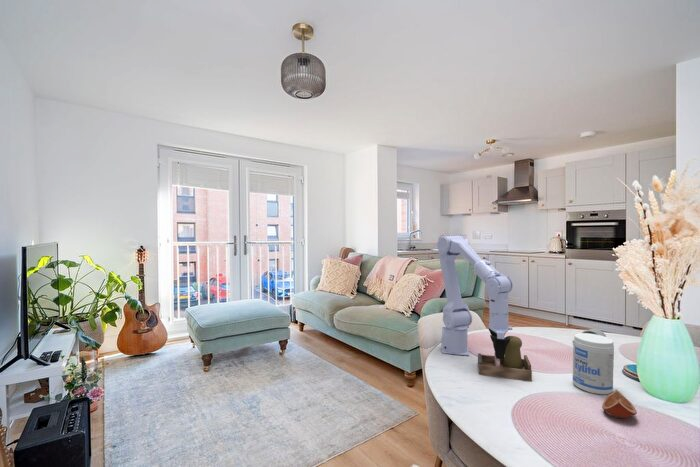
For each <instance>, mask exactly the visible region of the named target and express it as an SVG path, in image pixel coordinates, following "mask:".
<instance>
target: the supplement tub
mask: <svg viewBox="0 0 700 467" xmlns="http://www.w3.org/2000/svg"><path fill="white" fill-rule="evenodd" d="M573 341H574V344H573V343H572V344H573V345H572V346H573V347H572V348H573V352H572V354H573V355H572V383H573V384H574V386H576V387H577V388H578V389H581V391H584V392H588V393H591V394H596V395H609V394H611V393H612V392H614V391H613V390H614V367H615V366H614V360H615V358H614V356H615V345H614V340H613V339H611V338H609V337H607V336H606V337H604V336H601V335H596V334H589V333H582V332H579V333H575V334H574V338H573Z"/></svg>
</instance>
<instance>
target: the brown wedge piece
mask: <svg viewBox="0 0 700 467" xmlns="http://www.w3.org/2000/svg"><path fill="white" fill-rule="evenodd" d="M601 408H602V410H604V411H605V412H606V414H608V415H610V416H612V417H614V418H615V417H616V418H620V419H624V418H631V417H633V416H636V415H637V414H638V412H637V410H636V407H635V405H634V404H633V403H632V402H631V401H630V400H629V399H628V398H627V397H626V396H625V395H623V394H622V393H621V392H620V391H619V390H618V389H616V390H614V391H612V392H611V393H609V394H607V396H606V397H605V399H604V401H603V403H602V406H601Z"/></svg>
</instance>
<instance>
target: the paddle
mask: <svg viewBox="0 0 700 467" xmlns="http://www.w3.org/2000/svg"><path fill="white" fill-rule="evenodd" d="M494 356H495V366H498V367H500V360H499V359H497V358H496V355H495V354H494Z"/></svg>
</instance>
